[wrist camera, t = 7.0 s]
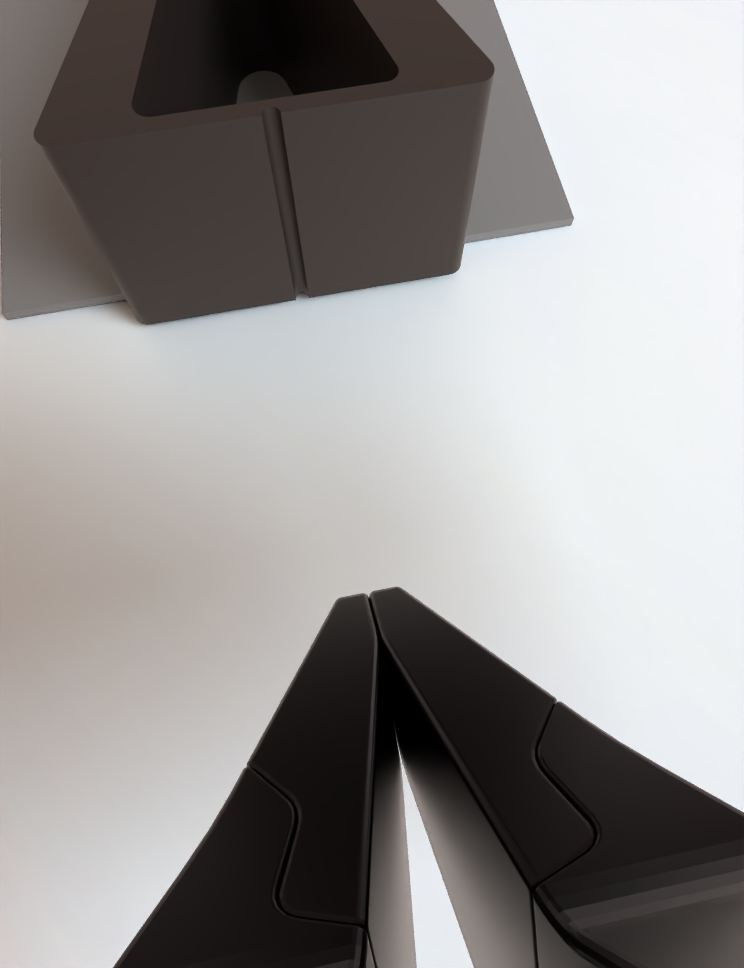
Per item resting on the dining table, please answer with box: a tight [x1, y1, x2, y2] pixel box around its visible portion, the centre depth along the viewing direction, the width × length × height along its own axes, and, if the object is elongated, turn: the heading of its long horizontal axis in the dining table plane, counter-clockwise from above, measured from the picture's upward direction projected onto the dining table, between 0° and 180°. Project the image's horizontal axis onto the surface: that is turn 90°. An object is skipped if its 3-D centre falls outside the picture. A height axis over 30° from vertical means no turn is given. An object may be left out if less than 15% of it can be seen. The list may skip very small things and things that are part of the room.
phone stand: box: [34, 0, 495, 324], centre depth 18 cm, size 9×6×12 cm
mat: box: [0, 0, 574, 320], centre depth 22 cm, size 18×16×1 cm
